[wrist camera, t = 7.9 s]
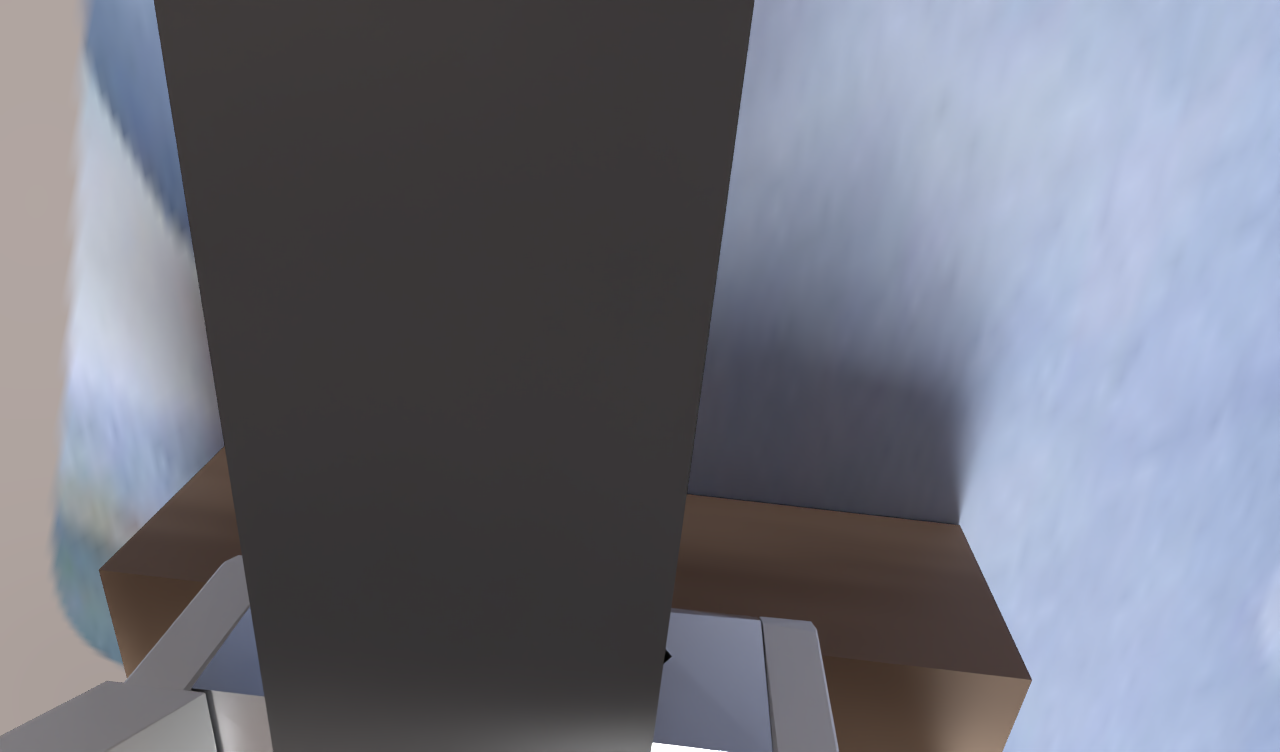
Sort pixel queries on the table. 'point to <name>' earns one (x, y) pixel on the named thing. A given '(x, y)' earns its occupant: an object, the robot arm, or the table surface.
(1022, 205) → the table surface
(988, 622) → the walnut plate
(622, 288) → the scraper
